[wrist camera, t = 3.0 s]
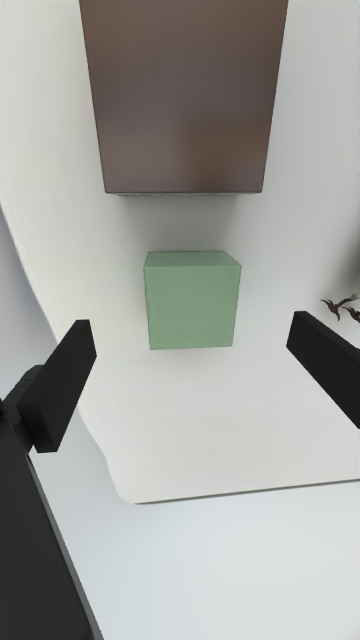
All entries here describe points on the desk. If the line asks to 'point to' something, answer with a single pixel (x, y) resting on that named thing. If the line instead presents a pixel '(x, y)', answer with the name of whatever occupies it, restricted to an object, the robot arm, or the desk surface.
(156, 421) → the desk surface
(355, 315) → the decorative bird
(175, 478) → the desk surface
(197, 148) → the walnut block
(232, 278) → the green block
